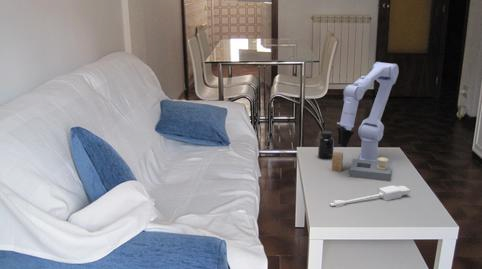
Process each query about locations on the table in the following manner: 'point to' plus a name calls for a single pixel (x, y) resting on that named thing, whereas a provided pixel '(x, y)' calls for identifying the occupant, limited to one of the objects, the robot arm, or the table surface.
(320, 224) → the table surface
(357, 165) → the board with square hole
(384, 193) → the charging cable
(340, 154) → the brown wooden block
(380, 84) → the robot arm
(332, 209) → the table surface
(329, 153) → the supplement bottle
